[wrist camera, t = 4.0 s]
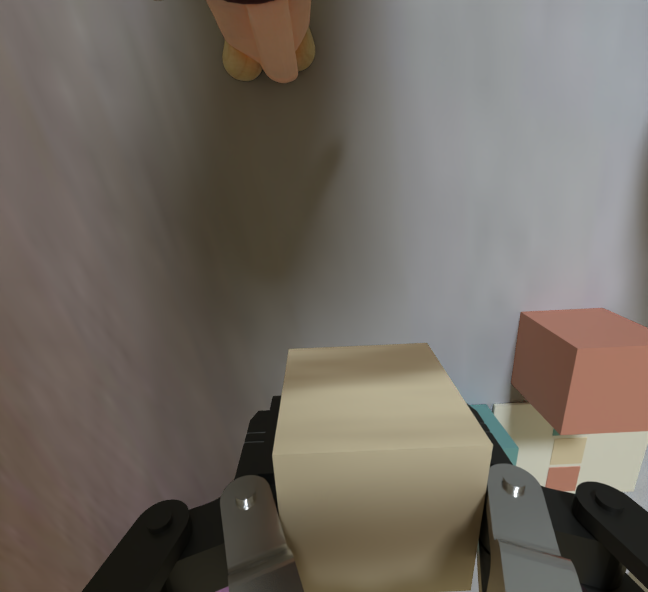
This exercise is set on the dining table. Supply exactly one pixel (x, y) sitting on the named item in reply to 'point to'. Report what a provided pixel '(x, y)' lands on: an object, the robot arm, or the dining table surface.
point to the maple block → (378, 471)
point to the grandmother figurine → (265, 37)
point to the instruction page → (571, 451)
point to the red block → (583, 370)
